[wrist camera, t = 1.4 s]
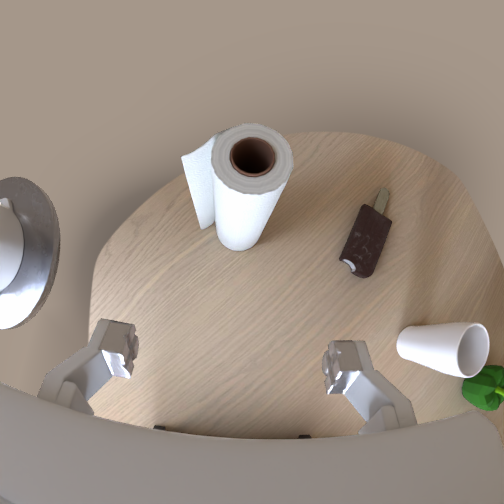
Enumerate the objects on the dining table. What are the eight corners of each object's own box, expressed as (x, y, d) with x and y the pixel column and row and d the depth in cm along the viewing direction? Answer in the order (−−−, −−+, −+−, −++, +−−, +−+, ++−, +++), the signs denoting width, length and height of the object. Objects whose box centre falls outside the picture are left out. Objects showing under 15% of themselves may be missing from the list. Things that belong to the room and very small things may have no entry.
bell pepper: (457, 368, 41) (496, 374, 31) (485, 358, 42) (521, 362, 32) (453, 410, 39) (489, 423, 30) (481, 398, 40) (516, 407, 30)
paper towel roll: (269, 225, 42) (310, 150, 21) (243, 260, 41) (264, 211, 20) (227, 196, 42) (231, 101, 21) (200, 229, 41) (179, 155, 20)
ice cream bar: (370, 182, 45) (336, 264, 42) (374, 178, 43) (340, 263, 40) (396, 199, 45) (365, 281, 42) (401, 195, 43) (370, 280, 40)
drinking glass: (431, 340, 41) (496, 346, 27) (405, 372, 40) (469, 389, 25) (410, 312, 42) (477, 309, 27) (383, 343, 41) (447, 354, 26)
